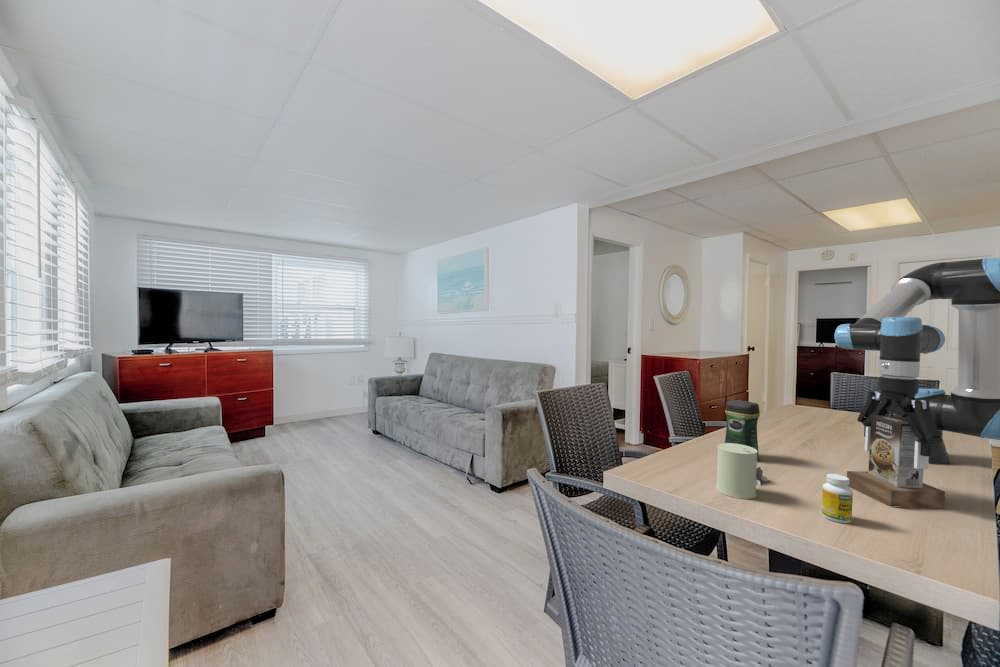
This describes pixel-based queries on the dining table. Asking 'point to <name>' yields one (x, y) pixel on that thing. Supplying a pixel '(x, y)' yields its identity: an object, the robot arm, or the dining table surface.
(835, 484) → the supplement bottle
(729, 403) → the coffee jar
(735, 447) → the can
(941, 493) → the walnut stand
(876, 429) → the cookie box
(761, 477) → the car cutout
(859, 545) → the dining table surface
